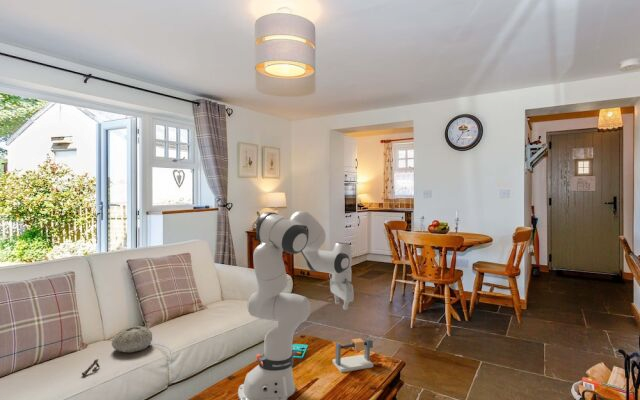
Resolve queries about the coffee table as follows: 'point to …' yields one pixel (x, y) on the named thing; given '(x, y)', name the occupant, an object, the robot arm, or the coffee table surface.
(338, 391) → the coffee table surface
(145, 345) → the rock
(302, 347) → the handheld gaming console
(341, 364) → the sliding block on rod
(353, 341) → the marker sleeve
